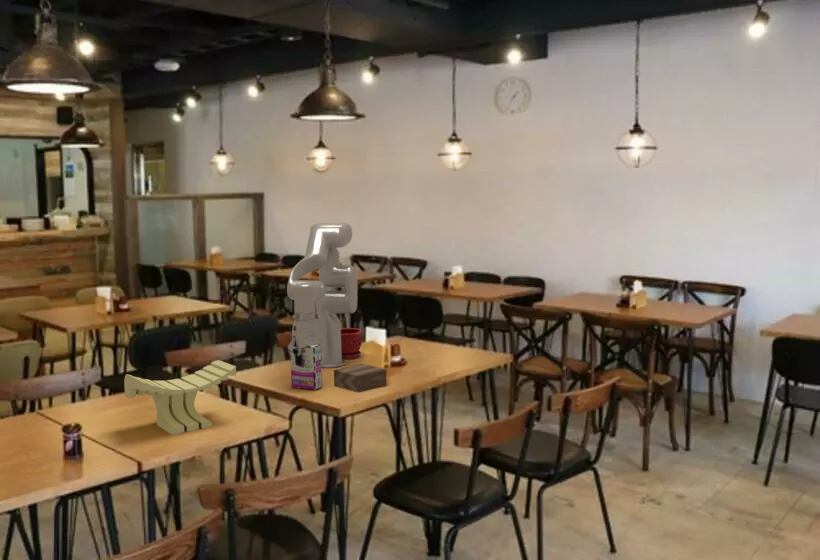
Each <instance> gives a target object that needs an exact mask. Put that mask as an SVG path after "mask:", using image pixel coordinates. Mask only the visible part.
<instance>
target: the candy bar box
mask: <svg viewBox="0 0 820 560" xmlns="http://www.w3.org/2000/svg"><path fill="white" fill-rule="evenodd" d="M293 347H294V346H293ZM294 349H295V347H294ZM289 352H290V374H291V375H290V378H291V381H290V382H291V383H290V384H291V388H293V387H300V388H299V389H301V388H307V389H306V390H309V389H313V390H312V391H316V389H317V390H320V389H322V388H323V367H322V358H321V345H311V346H307V347H306V348H302V351H301V354H300V355H301V356H302V366H297V365H296V363H295V355H294V353H293V352H292V351H291V350H290V349H289ZM319 388H320V389H319Z"/></svg>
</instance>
